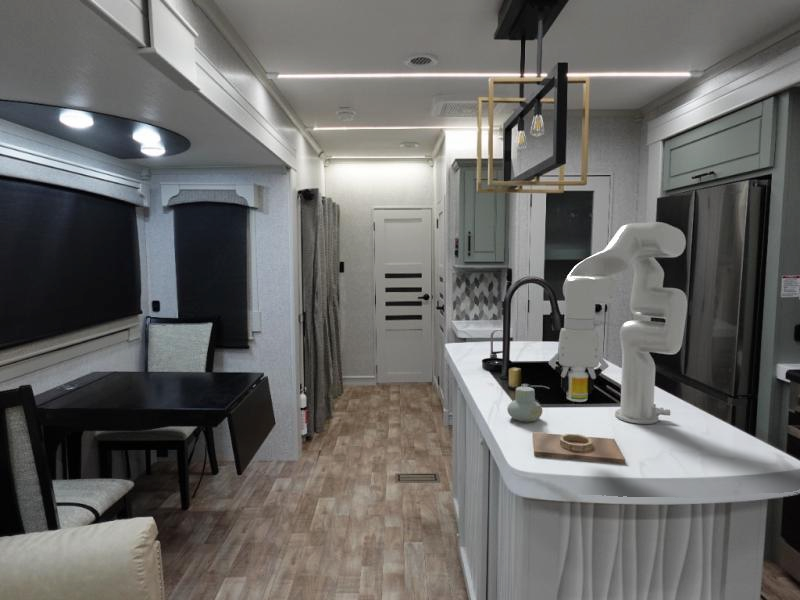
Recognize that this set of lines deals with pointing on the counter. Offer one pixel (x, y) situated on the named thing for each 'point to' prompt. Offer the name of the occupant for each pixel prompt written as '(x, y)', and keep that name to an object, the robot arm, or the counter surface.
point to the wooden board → (577, 447)
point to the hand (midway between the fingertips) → (577, 390)
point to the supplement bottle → (577, 384)
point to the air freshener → (525, 405)
